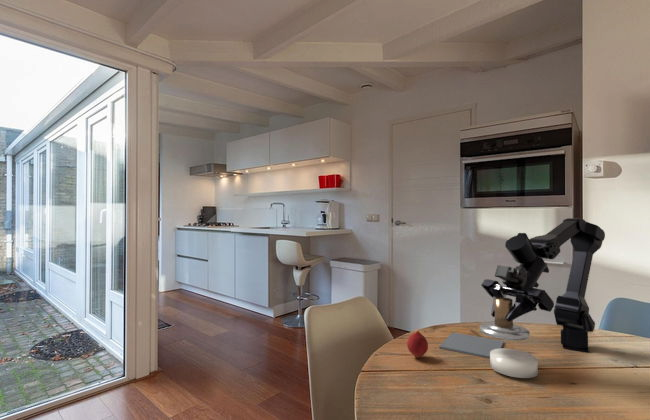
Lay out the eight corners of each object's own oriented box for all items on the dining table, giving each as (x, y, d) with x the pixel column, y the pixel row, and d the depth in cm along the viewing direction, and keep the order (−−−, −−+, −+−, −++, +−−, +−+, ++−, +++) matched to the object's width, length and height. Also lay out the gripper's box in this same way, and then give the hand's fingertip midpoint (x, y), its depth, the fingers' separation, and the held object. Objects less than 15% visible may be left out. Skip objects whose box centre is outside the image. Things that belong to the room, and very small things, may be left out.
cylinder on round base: (532, 330, 95) (531, 297, 95) (525, 343, 86) (525, 307, 86) (485, 322, 103) (484, 292, 103) (474, 334, 93) (473, 300, 93)
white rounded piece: (539, 369, 93) (538, 353, 93) (536, 385, 84) (536, 368, 84) (493, 359, 99) (493, 345, 99) (486, 374, 90) (486, 358, 90)
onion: (425, 354, 103) (425, 327, 103) (429, 362, 98) (429, 333, 98) (406, 353, 104) (405, 326, 104) (408, 361, 98) (408, 332, 98)
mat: (503, 343, 112) (503, 341, 112) (495, 359, 99) (495, 357, 99) (452, 334, 121) (452, 332, 121) (439, 348, 108) (439, 346, 108)
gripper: (485, 252, 105) (457, 292, 100) (545, 258, 87) (514, 307, 83) (504, 276, 108) (478, 316, 103) (566, 287, 90) (538, 336, 86)
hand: (499, 318), depth 94 cm, fingers closed on cylinder on round base, 4 cm apart
